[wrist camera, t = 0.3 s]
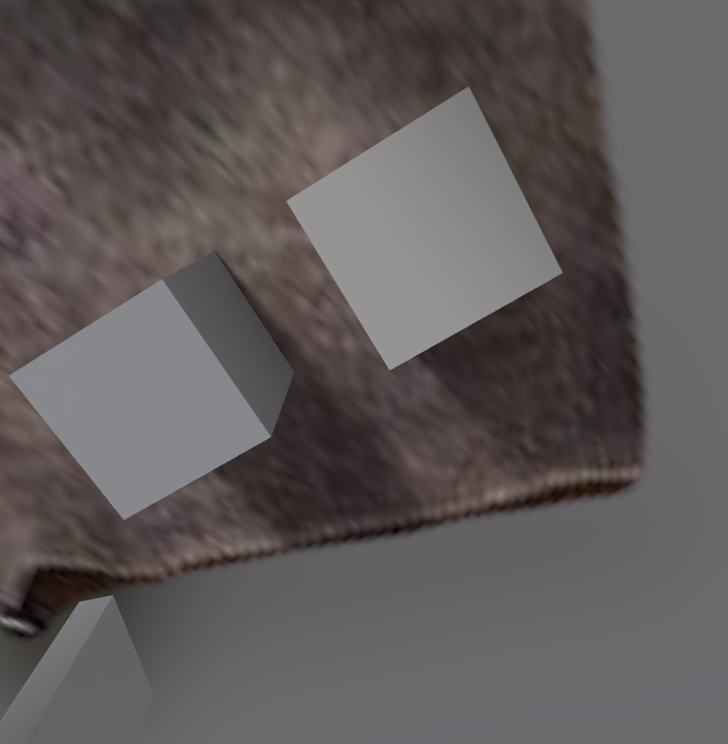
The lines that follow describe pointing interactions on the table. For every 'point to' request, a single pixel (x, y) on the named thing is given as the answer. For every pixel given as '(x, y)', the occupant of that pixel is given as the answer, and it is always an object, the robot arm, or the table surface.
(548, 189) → the table surface
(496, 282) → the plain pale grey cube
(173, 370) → the grey arch block
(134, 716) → the robot arm
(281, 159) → the table surface
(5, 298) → the table surface
